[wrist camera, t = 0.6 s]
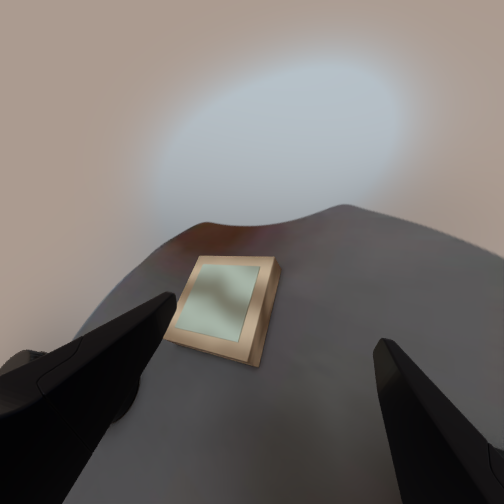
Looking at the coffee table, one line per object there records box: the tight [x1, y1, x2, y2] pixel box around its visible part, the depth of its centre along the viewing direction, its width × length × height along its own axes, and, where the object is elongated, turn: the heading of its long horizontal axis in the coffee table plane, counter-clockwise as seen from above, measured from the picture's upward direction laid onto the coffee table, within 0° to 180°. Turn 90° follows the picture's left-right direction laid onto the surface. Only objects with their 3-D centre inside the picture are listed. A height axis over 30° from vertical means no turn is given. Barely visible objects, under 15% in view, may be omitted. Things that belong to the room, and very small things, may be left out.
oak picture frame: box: [163, 256, 281, 368], centre depth 27 cm, size 12×12×3 cm
